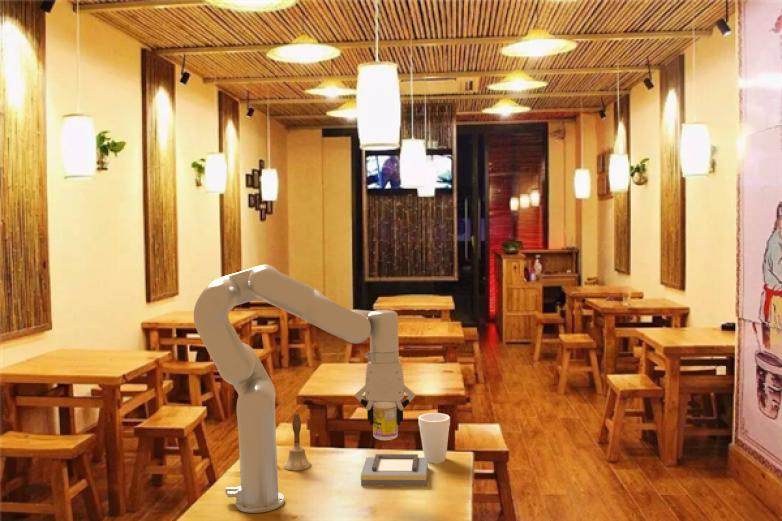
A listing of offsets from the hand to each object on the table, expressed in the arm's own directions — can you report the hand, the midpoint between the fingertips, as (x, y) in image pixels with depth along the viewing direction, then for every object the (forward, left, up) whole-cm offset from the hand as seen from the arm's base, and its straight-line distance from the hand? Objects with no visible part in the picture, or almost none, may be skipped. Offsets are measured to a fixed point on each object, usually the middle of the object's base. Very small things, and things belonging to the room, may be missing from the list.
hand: (385, 423), depth 192 cm
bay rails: (+1, +14, -16) cm, 22 cm away
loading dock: (+1, +13, -19) cm, 23 cm away
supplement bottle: (0, 0, -4) cm, 4 cm away
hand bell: (-29, +21, -20) cm, 41 cm away
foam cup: (+12, +27, -19) cm, 36 cm away
